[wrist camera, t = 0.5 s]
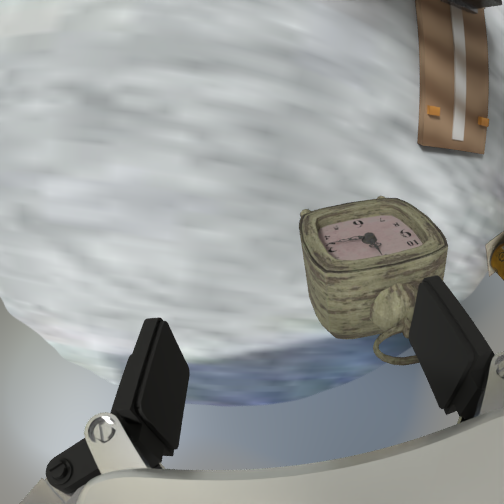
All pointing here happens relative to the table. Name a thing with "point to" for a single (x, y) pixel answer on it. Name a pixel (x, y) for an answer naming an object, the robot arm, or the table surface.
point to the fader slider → (472, 4)
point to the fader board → (452, 77)
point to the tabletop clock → (369, 267)
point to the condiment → (496, 255)
